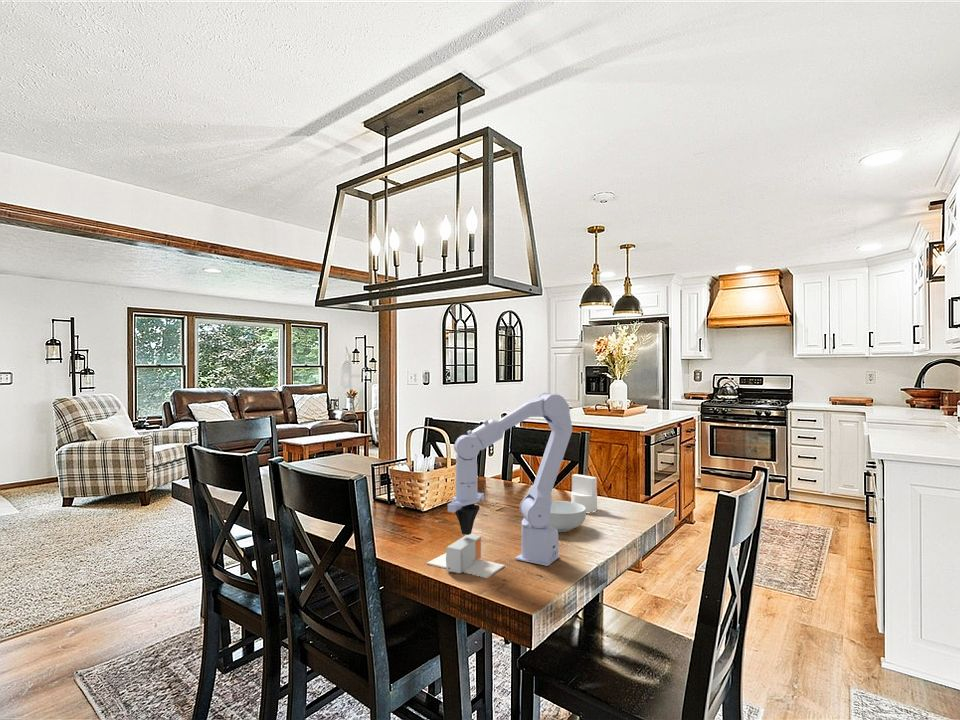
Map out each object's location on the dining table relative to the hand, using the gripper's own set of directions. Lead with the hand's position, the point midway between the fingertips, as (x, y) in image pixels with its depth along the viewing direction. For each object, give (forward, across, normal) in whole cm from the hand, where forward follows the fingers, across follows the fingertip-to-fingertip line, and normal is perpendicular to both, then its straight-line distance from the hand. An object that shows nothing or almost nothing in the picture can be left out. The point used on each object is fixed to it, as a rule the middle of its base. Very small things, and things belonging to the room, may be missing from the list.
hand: (466, 533), depth 142 cm
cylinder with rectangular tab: (+8, -65, +8) cm, 66 cm away
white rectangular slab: (+7, +2, +1) cm, 8 cm away
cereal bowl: (+8, -40, +9) cm, 42 cm away
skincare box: (+4, -4, 0) cm, 5 cm away
